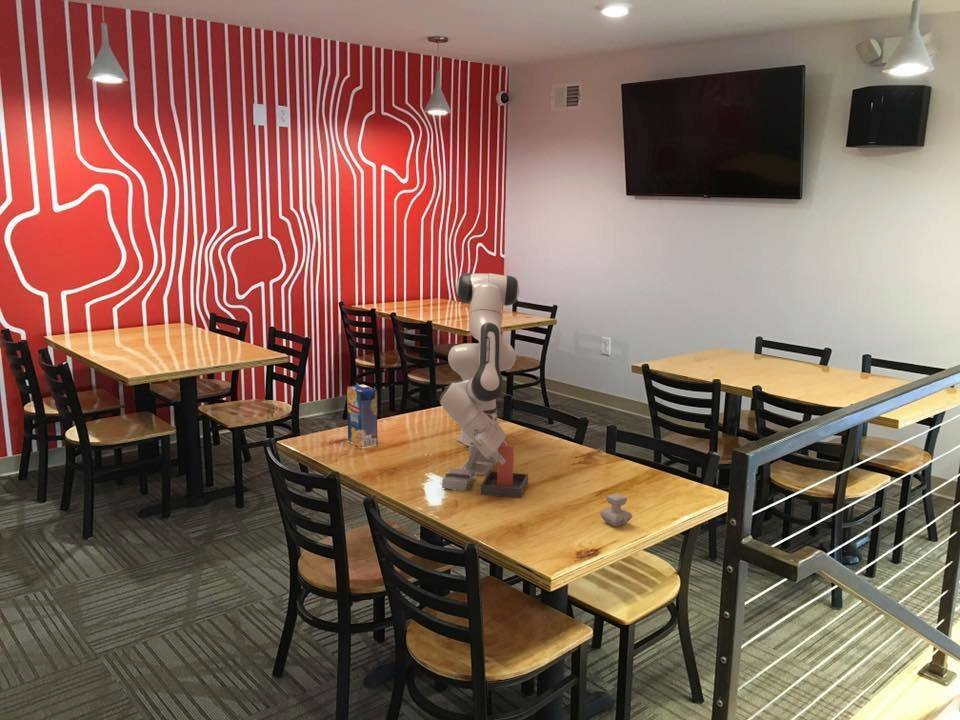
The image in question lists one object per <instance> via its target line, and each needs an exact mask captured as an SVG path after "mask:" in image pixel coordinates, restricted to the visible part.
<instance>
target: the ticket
mask: <svg viewBox="0 0 960 720" xmlns="http://www.w3.org/2000/svg"><path fill="white" fill-rule="evenodd" d="M497 451H498V452H499V454H500V455H501V456H502V457H504V458H505V459H506V462H505V463H504V464H503V465H502V464H501V463H500V462H499V461H497V460H496V464H497V465H496V471H497V486H503V487H513V473H514V457H515V455H514V454H515V453H514V451H515V446H514V445H512V444H507V445H502V444H501V445H500V447H499V448H498V450H497Z"/></svg>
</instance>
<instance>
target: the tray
mask: <svg viewBox="0 0 960 720" xmlns="http://www.w3.org/2000/svg"><path fill="white" fill-rule="evenodd" d="M528 485H529V473H519V472H513V487H503V486H497V470H489V472H488V473H487V474H486V475H485V477H484V478H483V481H482V482H481V484H480V495H484V496H494V497H503V498H505V497H506V498H514V499H515V498H516V499H522V497H523V495H524V493H525V490H526V489H527V487H528Z"/></svg>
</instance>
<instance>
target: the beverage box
mask: <svg viewBox="0 0 960 720" xmlns="http://www.w3.org/2000/svg"><path fill="white" fill-rule="evenodd" d="M346 395H347V397H346V400H347V401H346V402H347V441H348V440H349V441H350V442H352V443H354V444H356V445H358V446H359V447H361V448H362V447H368V446H373V445H378V389H376V388H373V387H370V386H368V385H366V384H364V383H363V384H355V385H349V386H347V387H346Z"/></svg>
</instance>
